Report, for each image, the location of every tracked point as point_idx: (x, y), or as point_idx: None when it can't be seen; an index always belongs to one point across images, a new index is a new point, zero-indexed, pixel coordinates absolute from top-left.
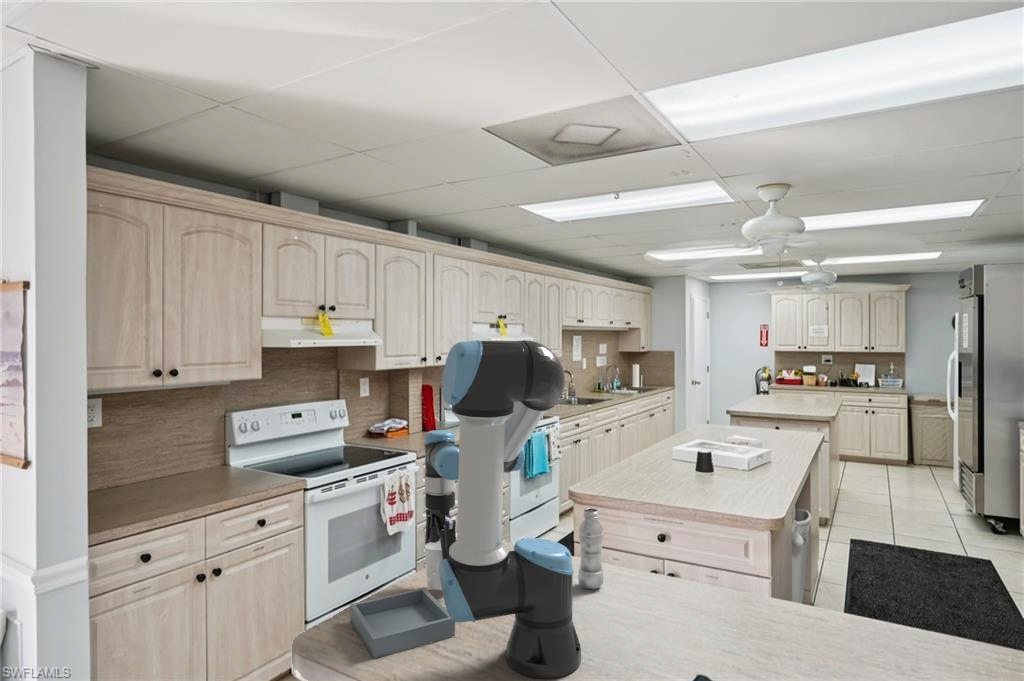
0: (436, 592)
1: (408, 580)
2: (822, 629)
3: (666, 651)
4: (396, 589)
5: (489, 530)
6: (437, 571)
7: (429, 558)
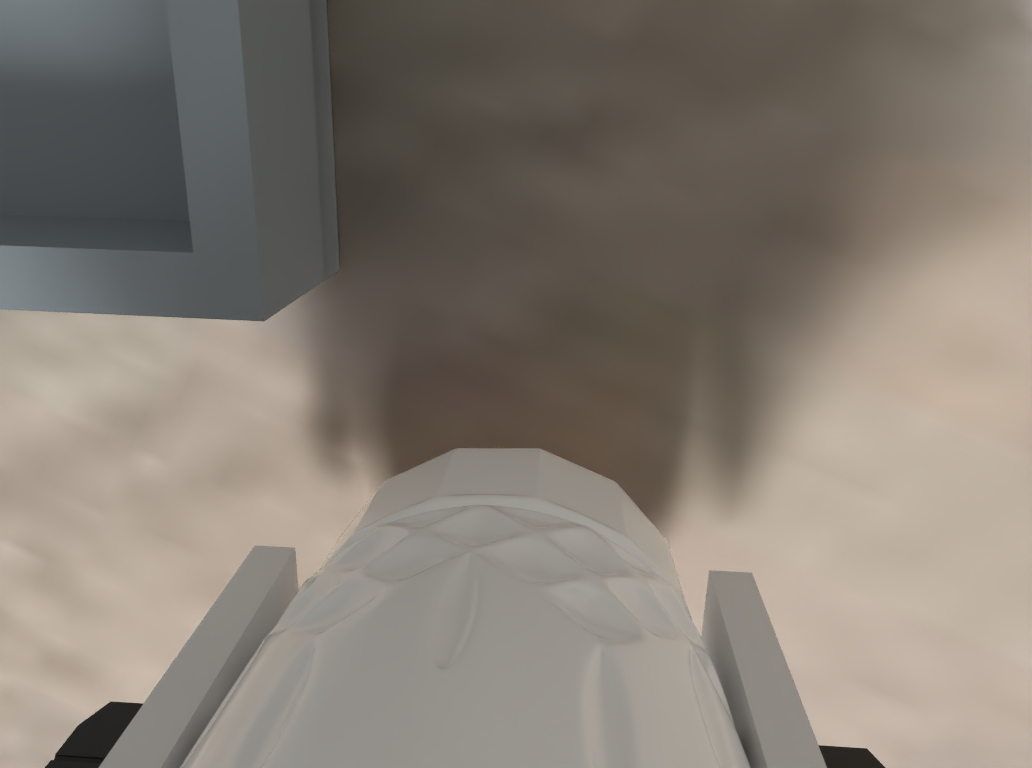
0: None
1: None
2: None
3: None
4: (962, 119)
5: None
6: (253, 657)
7: (293, 751)
